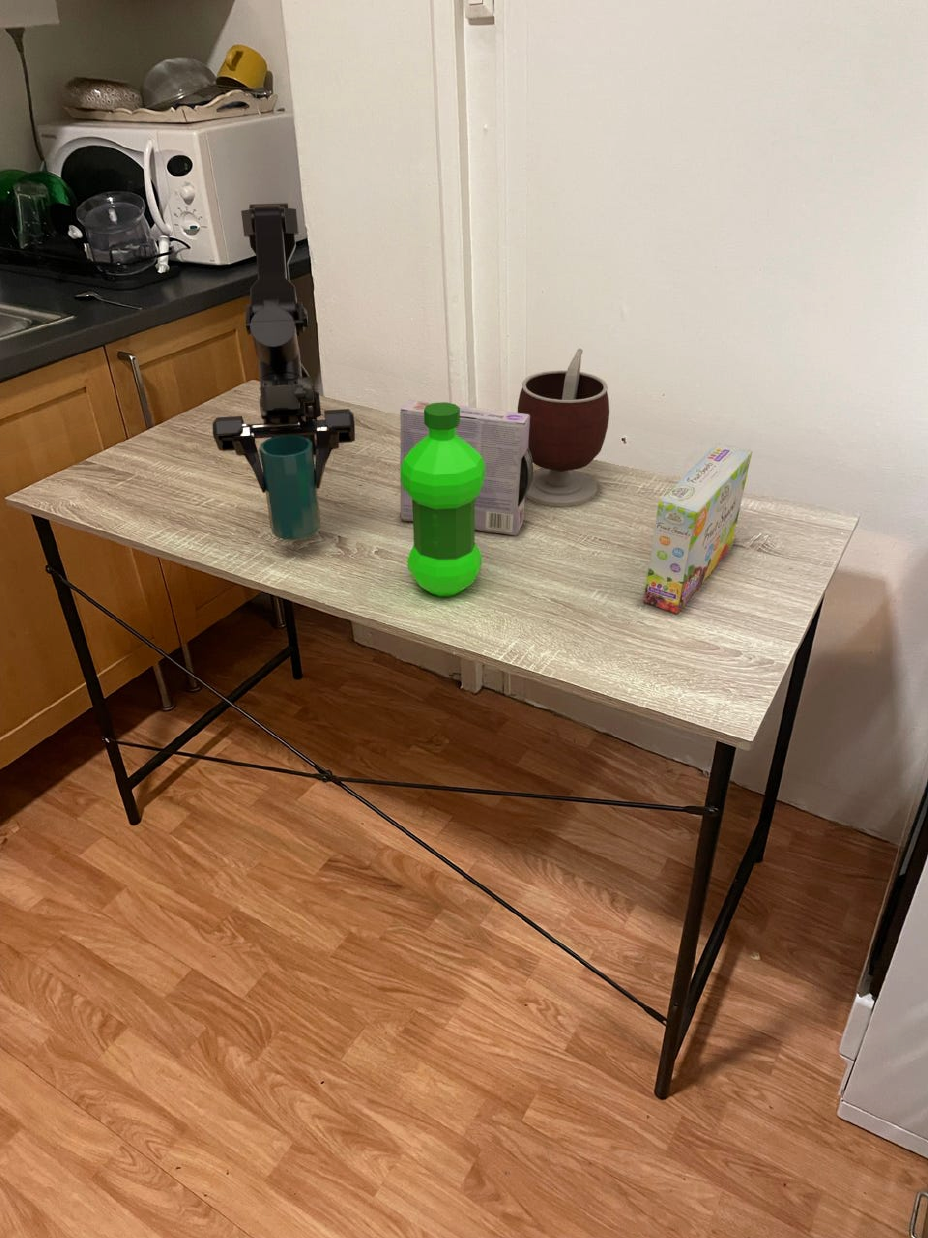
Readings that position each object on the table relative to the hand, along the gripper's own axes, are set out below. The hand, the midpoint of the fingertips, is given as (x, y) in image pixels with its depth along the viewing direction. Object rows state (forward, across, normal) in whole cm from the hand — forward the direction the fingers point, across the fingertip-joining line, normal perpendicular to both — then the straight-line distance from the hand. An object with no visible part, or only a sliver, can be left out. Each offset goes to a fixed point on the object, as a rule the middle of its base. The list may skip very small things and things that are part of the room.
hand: (290, 489), depth 124 cm
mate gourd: (-3, +42, +18) cm, 46 cm away
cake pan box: (+3, +25, +12) cm, 28 cm away
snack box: (+17, +53, -2) cm, 56 cm away
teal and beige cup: (+4, 0, +6) cm, 7 cm away
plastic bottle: (+15, +19, 0) cm, 25 cm away
